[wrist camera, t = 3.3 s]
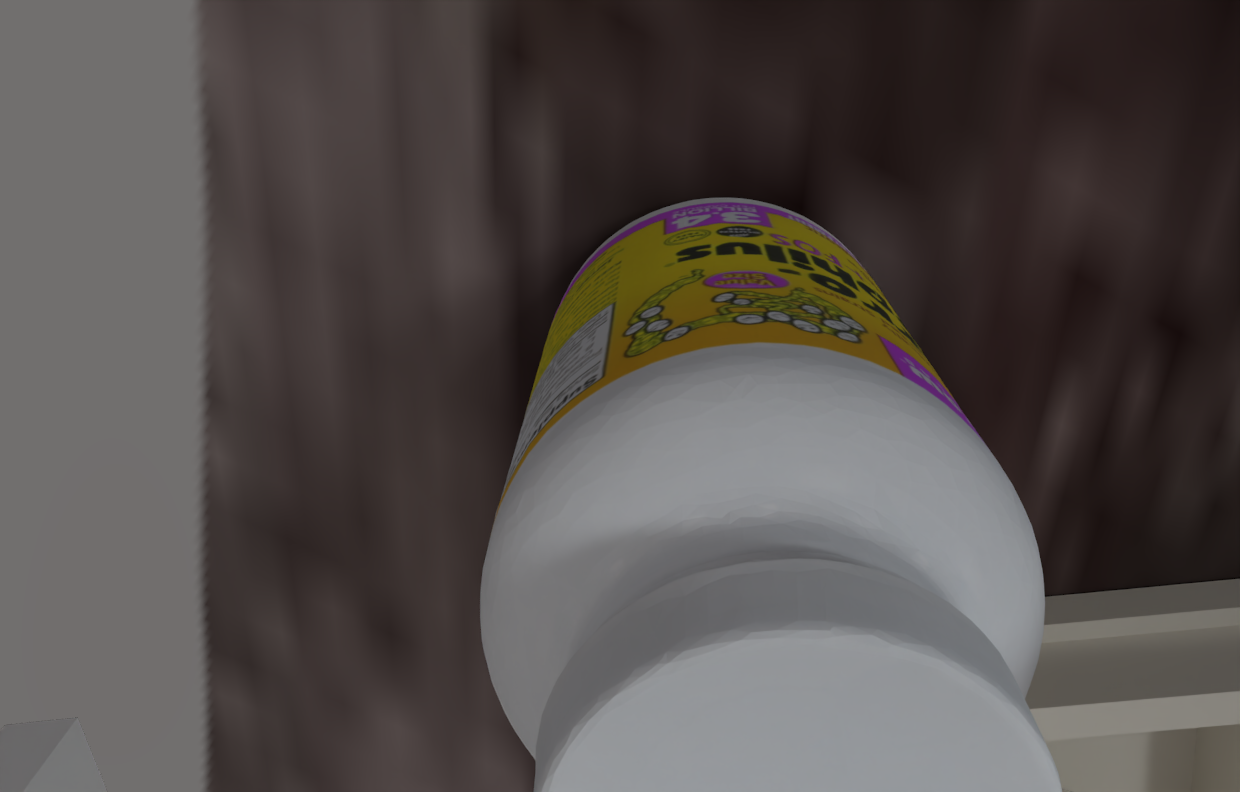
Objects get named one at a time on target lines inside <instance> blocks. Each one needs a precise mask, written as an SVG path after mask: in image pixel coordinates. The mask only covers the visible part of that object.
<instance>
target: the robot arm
mask: <svg viewBox="0 0 1240 792" xmlns="http://www.w3.org/2000/svg"><path fill="white" fill-rule="evenodd" d="M0 792H107V789H106V786H105V784H104V781H103V779H102V777H101V774H100V772H99V769H98V767H97V764H96V762H95V759H94V757H93V754H92V752H91V749H90V747H89V744H88V742H87V739H86V737H85V734H84V732H83V729H82V727H81V724H80V722H79V719H78V718H68V719H58V720H48V721H38V722H29V723H20V724H9V725H4V726H3V727H2V729H1V730H0Z"/></svg>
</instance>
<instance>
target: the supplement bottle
mask: <svg viewBox="0 0 1240 792" xmlns="http://www.w3.org/2000/svg"><path fill="white" fill-rule="evenodd" d="M1044 618H1045V593H1044V579H1043V571H1042V565H1041V560H1040V555H1039V550H1038V545H1037V542H1036V538H1035V535H1034V532H1033V528H1032V525H1031V523H1030V521H1029V518H1028V516H1027V514H1026V511H1025V509H1024V507H1023V505H1022V503H1021V501H1020V499H1019V497H1018V495H1017V493H1016V491H1015V489H1014V486H1013V485H1012V483H1011V481H1010V480H1009V478H1008V477H1007V475H1006V474H1005V472H1004V470H1003V469H1002V467H1001V466H1000V464H999V463H998V461H997V460H996V458H995V457H994V455H993V454H992V453H991V451H990V450H989V448H988V447H987V445H986V444H985V443H984V441H983V440H982V438H981V437H980V435H979V434H978V433H977V431H976V430H975V428H974V427H973V426H972V424H971V423H970V422H969V420H968V419H967V417H966V416H965V415H964V413H963V412H962V410H961V409H960V407H959V406H958V404H957V403H956V401H955V399H954V398H953V396H952V395H951V394H950V392H949V391H948V389H947V388H946V386H945V385H944V383H943V382H942V380H941V379H940V377H939V376H938V374H937V373H936V371H935V370H934V368H933V367H932V365H931V364H930V363H929V361H928V360H927V358H926V357H925V355H924V354H923V352H922V351H921V349H920V348H919V346H918V345H917V344H916V342H915V341H914V339H913V338H912V337H911V335H910V334H909V332H908V330H907V329H906V327H905V326H904V324H903V323H902V321H901V320H900V319H899V317H898V316H897V314H896V313H895V311H894V310H893V308H892V307H891V305H890V304H889V302H888V301H887V299H886V298H885V296H884V295H883V293H882V292H881V290H880V289H879V288H878V286H877V285H876V283H875V282H874V280H873V279H872V278H871V276H870V275H869V274H868V272H867V271H866V270H865V269H864V267H863V266H862V265H861V264H860V263H859V261H858V260H857V259H856V258H855V256H854V255H853V254H852V253H851V252H850V251H849V250H848V249H847V248H846V247H845V246H844V245H843V244H842V243H841V242H840V241H839V240H838V239H837V238H835V237H834V236H833V235H832V234H830V233H829V232H828V231H826V230H825V229H824V228H822V227H821V226H819V225H818V224H816V223H814V222H813V221H811V220H809V219H808V218H806V217H804V216H802V215H799V214H797V213H795V212H792V211H790V210H787V209H785V208H782V207H779V206H776V205H773V204H769V203H765V202H761V201H756V200H750V199H743V198H706V199H697V200H691V201H686V202H682V203H678V204H674V205H671V206H667V207H664V208H662V209H659V210H656V211H654V212H651V213H649V214H647V215H645V216H643V217H641V218H639V219H637V220H635V221H633V222H631V223H629V224H628V225H626V226H625V227H623V228H622V229H620V230H619V231H618V232H616V233H615V234H614V235H612V236H611V237H610V238H608V239H607V240H606V241H605V242H604V243H603V244H602V245H601V246H600V247H598V249H597V250H596V251H595V252H594V253H593V254H592V255H591V256H590V257H589V258H588V259H587V260H586V262H585V263H584V264H583V266H582V267H581V268H580V270H579V271H578V272H577V274H576V275H575V277H574V278H573V280H572V282H571V283H570V285H569V287H568V289H567V291H566V293H565V294H564V296H563V298H562V300H561V302H560V305H559V307H558V309H557V311H556V313H555V316H554V319H553V321H552V324H551V327H550V330H549V333H548V336H547V340H546V343H545V346H544V350H543V354H542V357H541V361H540V364H539V367H538V371H537V374H536V378H535V381H534V385H533V388H532V392H531V395H530V399H529V402H528V405H527V409H526V413H525V417H524V421H523V424H522V427H521V430H520V434H519V438H518V441H517V445H516V448H515V452H514V455H513V459H512V462H511V466H510V469H509V472H508V476H507V479H506V483H505V486H504V490H503V493H502V496H501V500H500V502H499V505H498V508H497V511H496V514H495V520H494V524H493V528H492V531H491V536H490V540H489V545H488V549H487V553H486V557H485V562H484V566H483V571H482V581H481V590H480V623H481V638H482V644H483V650H484V654H485V658H486V662H487V666H488V670H489V673H490V677H491V681H492V684H493V686H494V689H495V691H496V694H497V696H498V698H499V701H500V703H501V706H502V708H503V710H504V712H505V714H506V716H507V718H508V720H509V722H510V724H511V725H512V727H513V729H514V730H515V732H516V733H517V735H518V736H519V738H520V739H521V741H522V742H523V744H524V745H525V747H526V748H527V750H528V751H529V752H530V754H531V755H532V756H533V758H534V759H535V760H536V773H535V783H534V792H1062V788H1061V783H1060V778H1059V773H1058V771H1057V768H1056V765H1055V763H1054V760H1053V758H1052V756H1051V753H1050V751H1049V749H1048V747H1047V745H1046V742H1045V740H1044V738H1043V736H1042V734H1041V732H1040V730H1039V728H1038V725H1037V723H1036V721H1035V719H1034V717H1033V715H1032V713H1031V711H1030V709H1029V707H1028V705H1027V703H1026V701H1025V697H1026V695H1027V692H1028V690H1029V687H1030V684H1031V681H1032V678H1033V675H1034V672H1035V669H1036V666H1037V663H1038V659H1039V655H1040V649H1041V643H1042V638H1043V632H1044Z"/></svg>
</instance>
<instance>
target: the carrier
mask: <svg viewBox="0 0 1240 792" xmlns="http://www.w3.org/2000/svg"><path fill="white" fill-rule="evenodd" d="M1025 701H1026V703H1027V705H1028V707H1029V709H1030V711H1031V713H1032V715H1033V717H1034V719H1035V721H1036V723H1037V725H1038V728H1039V730H1040V732H1041V734H1042V736H1043V738H1044V740H1045V742H1046V745H1047V747H1048V749H1049V751H1050V753H1051V756H1052V758H1053V760H1054V763H1055V765H1056V768H1057V771H1058V773H1059V778H1060V783H1061V788H1062V789H1066V790H1069V791H1072V792H1240V579H1230V580H1219V581H1209V582H1198V583H1187V584H1177V585H1166V586H1155V587H1145V588H1134V589H1123V590H1113V591H1102V592H1092V593H1081V594H1070V595H1060V596H1049V597H1045V618H1044V632H1043V638H1042V643H1041V649H1040V655H1039V659H1038V663H1037V666H1036V669H1035V672H1034V675H1033V678H1032V681H1031V684H1030V687H1029V690H1028V692H1027V695H1026V697H1025Z"/></svg>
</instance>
